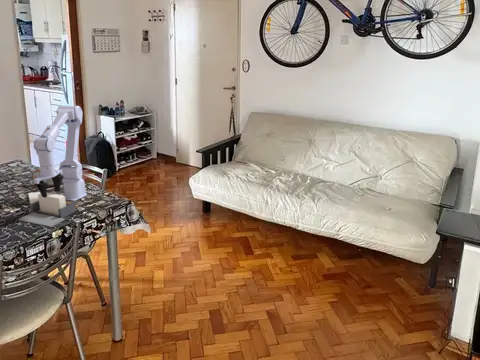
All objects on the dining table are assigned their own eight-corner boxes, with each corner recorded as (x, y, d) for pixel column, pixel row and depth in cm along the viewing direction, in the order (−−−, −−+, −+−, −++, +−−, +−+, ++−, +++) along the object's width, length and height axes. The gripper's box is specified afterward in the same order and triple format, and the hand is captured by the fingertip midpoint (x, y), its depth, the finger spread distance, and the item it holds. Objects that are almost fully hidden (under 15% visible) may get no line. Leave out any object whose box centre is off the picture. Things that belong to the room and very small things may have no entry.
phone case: (50, 204, 210) (46, 192, 224) (50, 201, 210) (46, 189, 223) (30, 207, 207) (27, 195, 220) (29, 204, 206) (27, 192, 219)
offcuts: (56, 202, 210) (55, 198, 210) (78, 207, 206) (78, 203, 205) (51, 205, 208) (51, 201, 207) (73, 209, 203) (73, 205, 202)
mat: (33, 213, 199) (32, 212, 199) (64, 219, 192) (64, 218, 192) (18, 220, 192) (18, 219, 192) (50, 227, 185) (50, 226, 185)
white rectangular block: (46, 208, 204) (43, 192, 202) (67, 212, 200) (64, 195, 197) (40, 211, 201) (37, 194, 199) (61, 215, 197) (59, 198, 194)
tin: (63, 184, 235) (60, 169, 232) (60, 186, 232) (58, 171, 229) (35, 183, 236) (33, 168, 233) (32, 185, 233) (30, 169, 230)
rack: (46, 205, 208) (45, 197, 207) (76, 210, 202) (75, 202, 200) (30, 212, 200) (29, 204, 198) (61, 218, 194) (60, 210, 192)
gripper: (52, 159, 201) (56, 187, 206) (26, 168, 189) (31, 198, 193) (64, 161, 199) (68, 189, 203) (39, 170, 186) (43, 200, 190)
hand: (51, 194), depth 198 cm, fingers open, 7 cm apart
